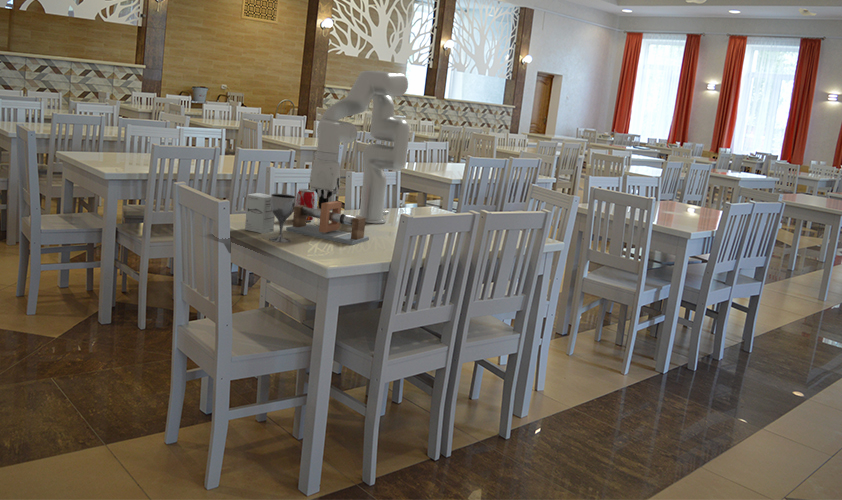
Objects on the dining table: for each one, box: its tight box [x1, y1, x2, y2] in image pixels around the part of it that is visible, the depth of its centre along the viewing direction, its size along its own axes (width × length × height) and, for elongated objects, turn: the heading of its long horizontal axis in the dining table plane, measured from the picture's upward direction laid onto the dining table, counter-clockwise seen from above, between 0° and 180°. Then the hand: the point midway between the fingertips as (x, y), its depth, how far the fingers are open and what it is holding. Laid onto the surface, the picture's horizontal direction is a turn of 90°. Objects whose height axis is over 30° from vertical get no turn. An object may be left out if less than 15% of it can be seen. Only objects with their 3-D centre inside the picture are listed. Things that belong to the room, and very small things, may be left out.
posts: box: [292, 205, 366, 240], centre depth 239 cm, size 26×5×8 cm, turn 67°
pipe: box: [301, 207, 356, 226], centre depth 238 cm, size 24×4×4 cm, turn 67°
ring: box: [318, 200, 343, 233], centre depth 238 cm, size 2×10×10 cm, turn 157°
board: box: [285, 223, 370, 246], centre depth 239 cm, size 27×12×1 cm, turn 67°
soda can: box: [295, 188, 316, 223], centre depth 260 cm, size 7×7×12 cm
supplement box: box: [244, 192, 275, 235], centre depth 233 cm, size 7×7×13 cm
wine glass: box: [268, 193, 297, 244], centre depth 222 cm, size 8×8×15 cm
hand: (323, 208), depth 239 cm, fingers closed
